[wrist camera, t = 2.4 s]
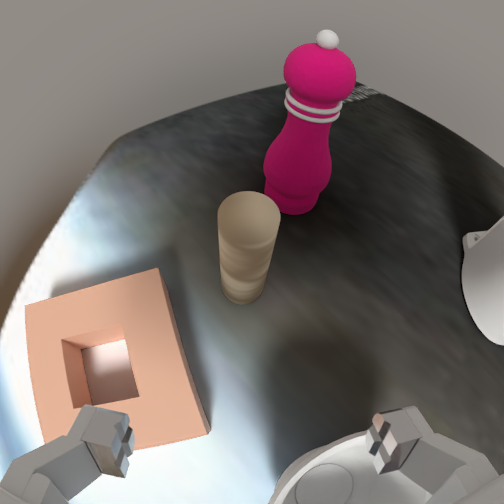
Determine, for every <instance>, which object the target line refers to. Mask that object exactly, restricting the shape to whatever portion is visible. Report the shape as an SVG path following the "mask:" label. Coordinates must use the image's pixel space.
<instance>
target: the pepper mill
mask: <svg viewBox="0 0 504 504" xmlns="http://www.w3.org/2000/svg"><path fill="white" fill-rule="evenodd" d="M316 42H317V43H310V44H304V45H301V46H299V47H297V48H295V49H294V50H293V51H292V52H291V53H290V54H289V55H288V57H287V59H286V62H285V65H284V78H285V81H286V83H287V85H288V86H289V88H288V89H287V90H286V98H285V102H284V103H285V107H286V108H287V110H288V116H287V119H286V123H285V125H284V127H283V129H282V131H281V132H280V134H279V135H278V136H277V138H276V139H275V140H274V141H273V143H272V144H271V145H270V147H269V149H268V151H267V153H266V156H265V160H264V164H263V170H264V174H265V177H266V182H265V189H264V193H265V195H266V196H267V197H269V198H270V199H272V200H273V201H274V202H275V204H276V205H277V207H278V209H279V211H280V212H282V213H286V214H289V215H299V214H304V213H306V212H308V211H310V210H311V209H312V208H313V207H314V206H315V204H316V202H317V199H318V196H319V193H320V192H321V191H322V190H324V188H325V187H326V186H327V184H328V182H329V179H330V175H331V170H332V161H331V156H330V152H329V146H328V136H329V131H330V126H331V124H332V121H335V120H336V119H337V118H338V117H339V115H340V110H341V108H342V101H341V100H343V99H345V98H347V97H348V96H349V95H350V94H351V93H352V91H353V89H354V86H355V81H356V71H355V68H354V65H353V63H352V61H351V60H350V58H349V57H348V56H347V55H345V54H344V53H343V52H341V51H340V50H338V49H337V48H336V46H337V45H338V42H339V38H338V36H337V35H336V34H335V33H334V32H333V31H331V30H322V31H320V32H319V33H318V34H317V36H316Z"/></svg>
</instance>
